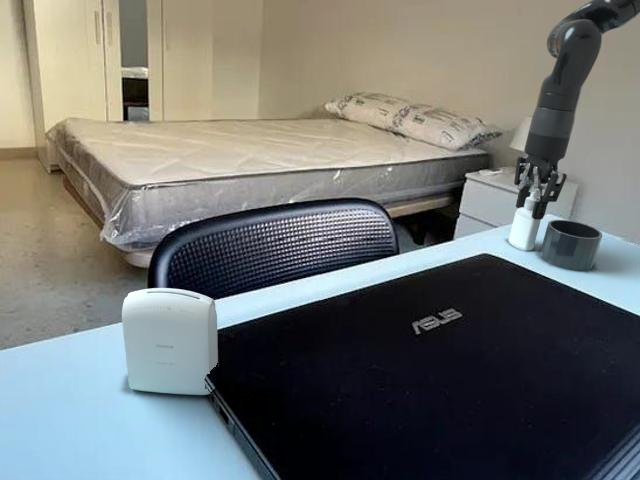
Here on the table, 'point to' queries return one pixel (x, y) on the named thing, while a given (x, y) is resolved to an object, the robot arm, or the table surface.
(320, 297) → the table surface
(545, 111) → the robot arm
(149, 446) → the table surface
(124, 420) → the table surface
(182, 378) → the photo printer
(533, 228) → the eye dropper bottle
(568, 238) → the desk tube
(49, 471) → the table surface
